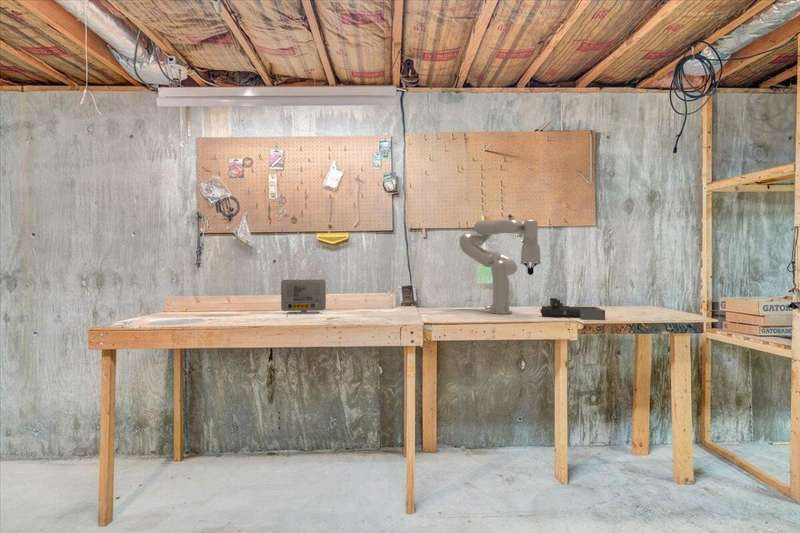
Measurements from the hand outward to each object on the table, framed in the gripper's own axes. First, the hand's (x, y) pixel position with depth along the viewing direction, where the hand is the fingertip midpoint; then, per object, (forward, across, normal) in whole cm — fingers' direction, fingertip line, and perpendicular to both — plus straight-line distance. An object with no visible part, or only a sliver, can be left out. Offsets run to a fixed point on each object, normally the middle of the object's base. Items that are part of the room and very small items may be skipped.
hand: (530, 274), depth 232 cm
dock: (+23, +30, 0) cm, 38 cm away
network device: (+23, -130, -12) cm, 133 cm away
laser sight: (+24, +17, 0) cm, 29 cm away
